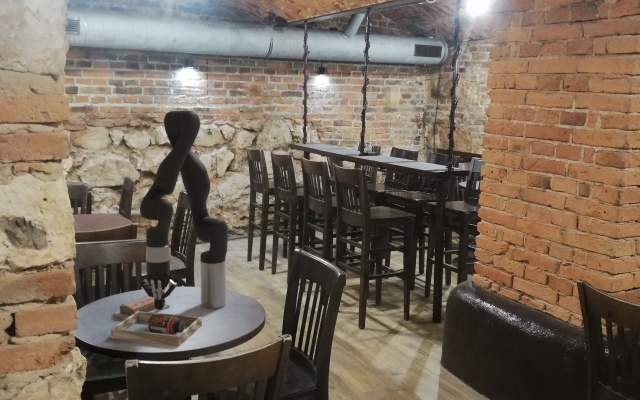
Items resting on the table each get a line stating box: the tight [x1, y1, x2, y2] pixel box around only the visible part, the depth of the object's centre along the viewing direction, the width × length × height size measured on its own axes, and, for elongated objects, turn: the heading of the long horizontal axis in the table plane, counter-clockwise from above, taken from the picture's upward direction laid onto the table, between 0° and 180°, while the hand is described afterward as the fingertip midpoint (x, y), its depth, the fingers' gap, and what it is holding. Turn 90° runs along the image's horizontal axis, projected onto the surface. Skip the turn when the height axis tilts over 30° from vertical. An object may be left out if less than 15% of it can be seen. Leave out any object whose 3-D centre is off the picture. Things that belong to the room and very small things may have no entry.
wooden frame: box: [110, 311, 203, 346], centre depth 215 cm, size 18×24×3 cm
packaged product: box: [113, 295, 170, 320], centre depth 234 cm, size 18×5×10 cm
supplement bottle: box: [147, 314, 186, 335], centre depth 213 cm, size 6×6×11 cm
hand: (159, 309), depth 214 cm, fingers closed
